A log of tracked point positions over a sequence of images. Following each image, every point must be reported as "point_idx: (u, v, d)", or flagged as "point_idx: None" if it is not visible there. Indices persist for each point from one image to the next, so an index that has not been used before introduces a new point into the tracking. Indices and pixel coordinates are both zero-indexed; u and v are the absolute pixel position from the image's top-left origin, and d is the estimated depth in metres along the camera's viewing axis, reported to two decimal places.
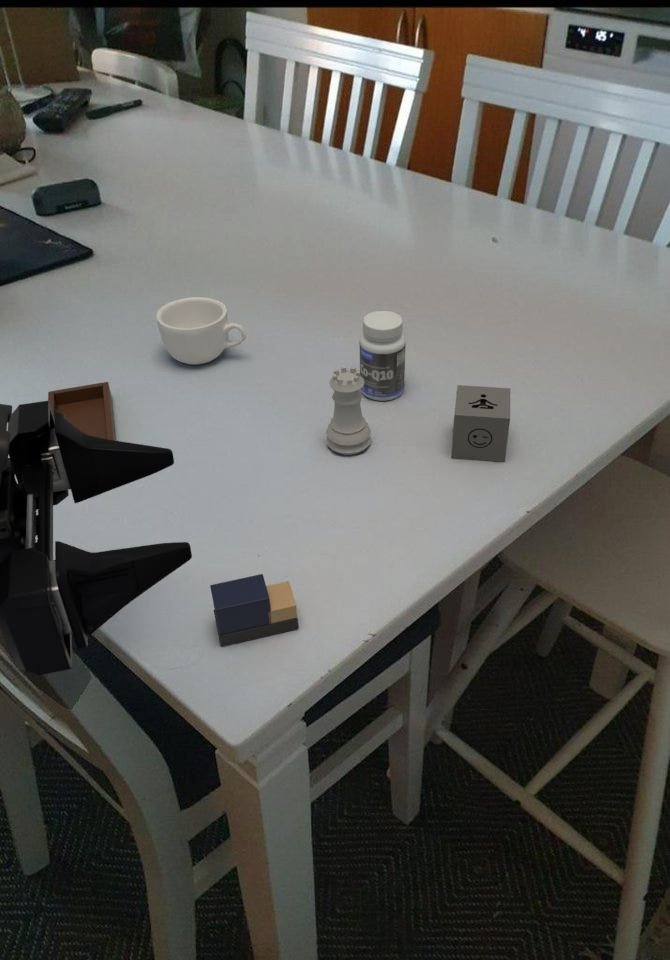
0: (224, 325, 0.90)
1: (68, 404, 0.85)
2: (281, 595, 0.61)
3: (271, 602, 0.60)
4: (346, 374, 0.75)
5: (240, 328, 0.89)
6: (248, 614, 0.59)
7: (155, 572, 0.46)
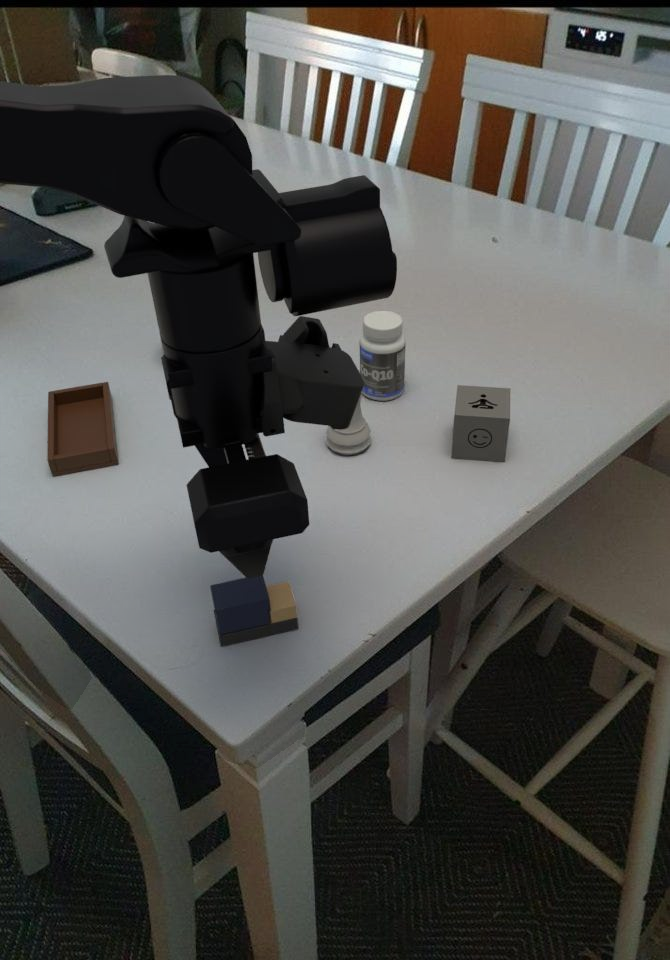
0: None
1: (68, 404, 0.85)
2: (281, 595, 0.61)
3: (271, 602, 0.60)
4: None
5: None
6: (248, 614, 0.59)
7: (246, 562, 0.50)
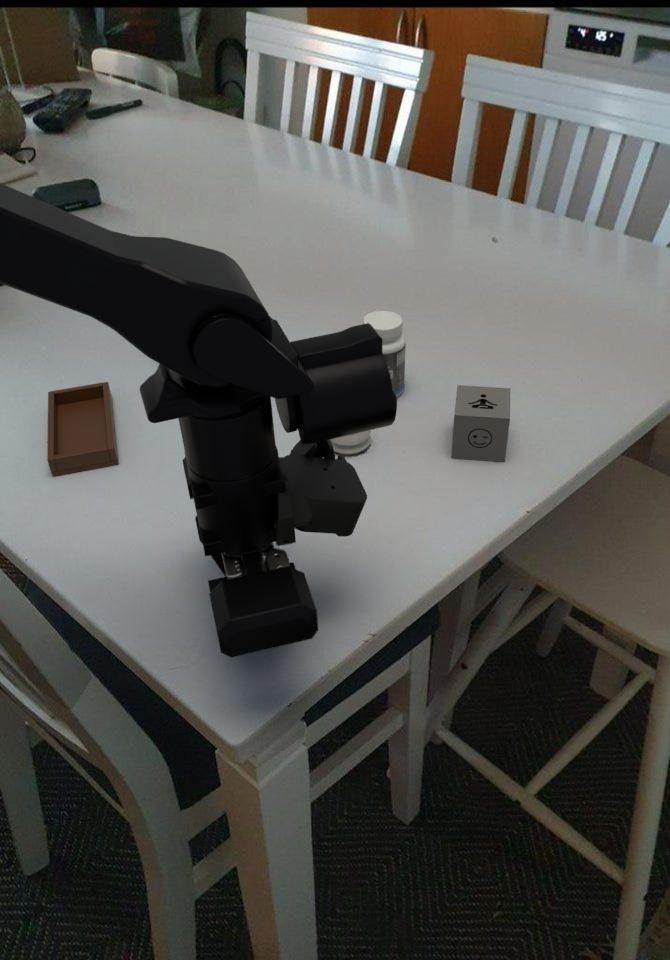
0: None
1: (68, 404, 0.85)
2: None
3: None
4: None
5: None
6: None
7: None
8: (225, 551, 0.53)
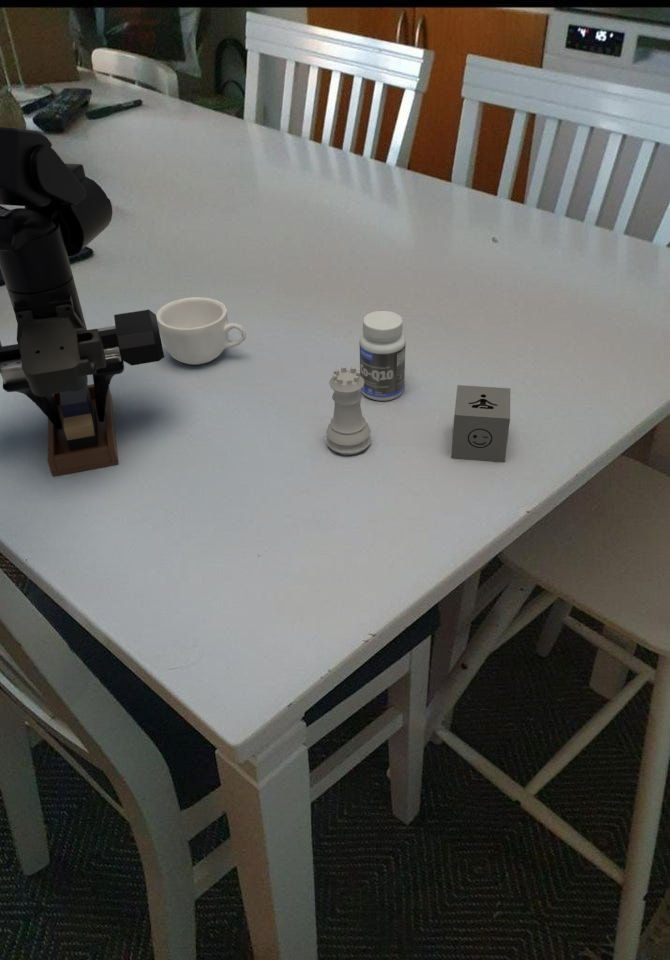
0: (224, 325, 0.90)
1: None
2: (77, 421, 0.78)
3: (72, 417, 0.79)
4: (346, 374, 0.75)
5: (240, 328, 0.89)
6: None
7: None
8: None
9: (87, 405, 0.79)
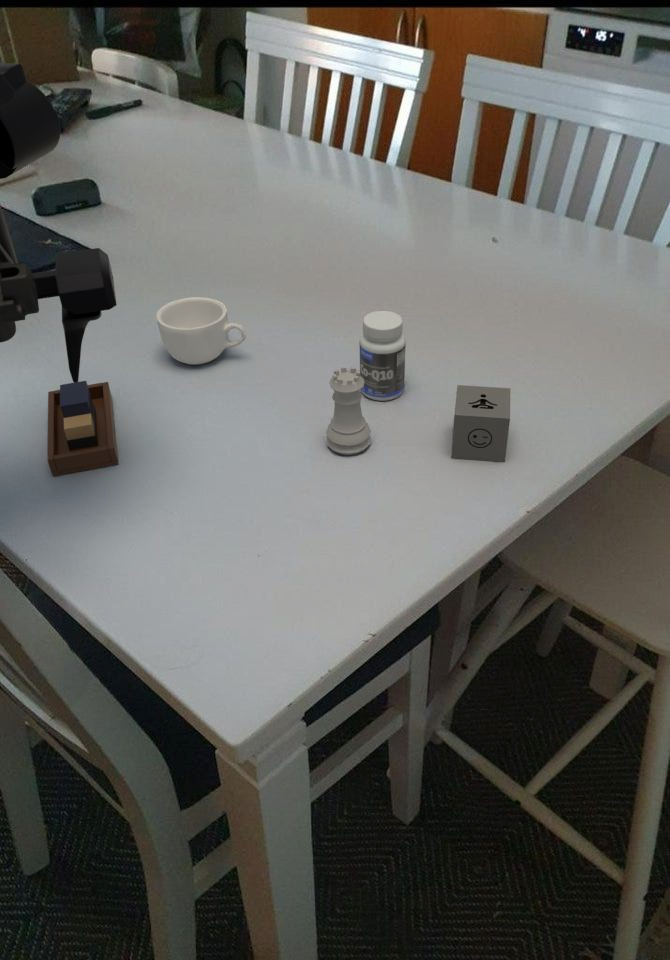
0: (224, 325, 0.90)
1: None
2: (77, 421, 0.78)
3: (72, 417, 0.79)
4: (346, 374, 0.75)
5: (240, 328, 0.89)
6: None
7: None
8: None
9: (87, 405, 0.79)
